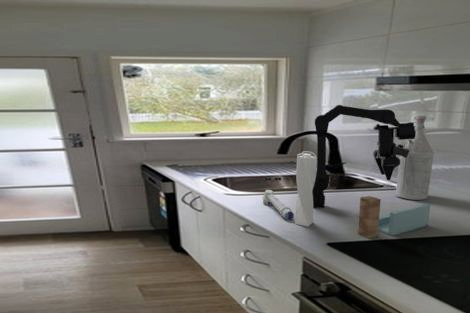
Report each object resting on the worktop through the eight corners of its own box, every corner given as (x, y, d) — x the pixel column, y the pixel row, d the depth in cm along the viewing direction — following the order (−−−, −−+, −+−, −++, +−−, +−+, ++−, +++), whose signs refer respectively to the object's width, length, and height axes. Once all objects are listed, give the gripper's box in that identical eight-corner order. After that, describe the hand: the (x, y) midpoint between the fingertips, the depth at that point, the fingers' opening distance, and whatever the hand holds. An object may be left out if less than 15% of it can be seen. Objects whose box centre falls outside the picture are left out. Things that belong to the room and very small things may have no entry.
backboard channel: (370, 226, 120) (372, 206, 119) (405, 218, 129) (407, 198, 128) (392, 235, 112) (394, 213, 111) (428, 225, 121) (430, 205, 120)
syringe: (283, 211, 125) (261, 186, 148) (282, 227, 127) (260, 200, 150) (296, 210, 127) (272, 186, 150) (294, 225, 129) (271, 199, 152)
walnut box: (357, 233, 114) (360, 197, 112) (366, 231, 116) (369, 195, 114) (368, 238, 110) (371, 201, 108) (377, 235, 112) (380, 199, 110)
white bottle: (388, 195, 160) (395, 114, 154) (410, 191, 168) (417, 113, 162) (412, 202, 149) (421, 115, 143) (435, 197, 158) (444, 114, 151)
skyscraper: (309, 228, 118) (313, 152, 114) (290, 224, 122) (293, 150, 118) (316, 221, 125) (320, 149, 120) (298, 218, 129) (301, 147, 124)
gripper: (415, 142, 123) (414, 182, 126) (400, 136, 141) (399, 171, 144) (383, 144, 125) (383, 183, 128) (373, 137, 143) (373, 172, 146)
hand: (385, 177), depth 137 cm, fingers open, 9 cm apart
